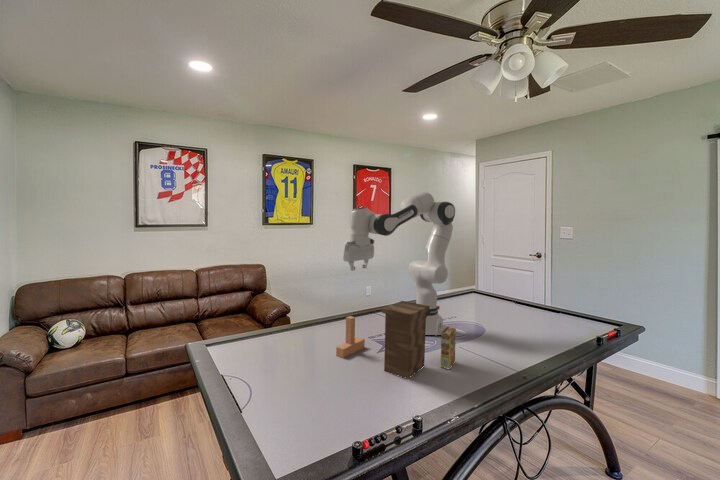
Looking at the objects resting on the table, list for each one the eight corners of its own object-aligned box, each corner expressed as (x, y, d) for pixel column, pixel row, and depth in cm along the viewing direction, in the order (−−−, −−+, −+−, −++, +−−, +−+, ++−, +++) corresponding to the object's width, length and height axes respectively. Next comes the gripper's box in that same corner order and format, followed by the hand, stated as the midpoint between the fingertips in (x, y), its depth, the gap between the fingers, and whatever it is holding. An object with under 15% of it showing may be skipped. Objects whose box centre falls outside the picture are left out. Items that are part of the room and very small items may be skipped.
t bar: (358, 312, 162) (365, 314, 160) (357, 345, 163) (364, 347, 161) (336, 320, 150) (343, 322, 147) (336, 355, 151) (343, 358, 148)
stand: (400, 358, 149) (402, 300, 147) (427, 366, 141) (429, 305, 139) (380, 371, 136) (382, 308, 134) (409, 381, 128) (410, 314, 127)
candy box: (449, 370, 138) (451, 333, 137) (439, 367, 140) (441, 332, 139) (455, 362, 146) (456, 327, 145) (445, 360, 148) (446, 326, 147)
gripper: (350, 242, 151) (350, 272, 152) (376, 240, 167) (375, 267, 168) (340, 241, 155) (339, 271, 156) (366, 239, 171) (365, 266, 172)
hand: (358, 269), depth 162 cm, fingers open, 8 cm apart
